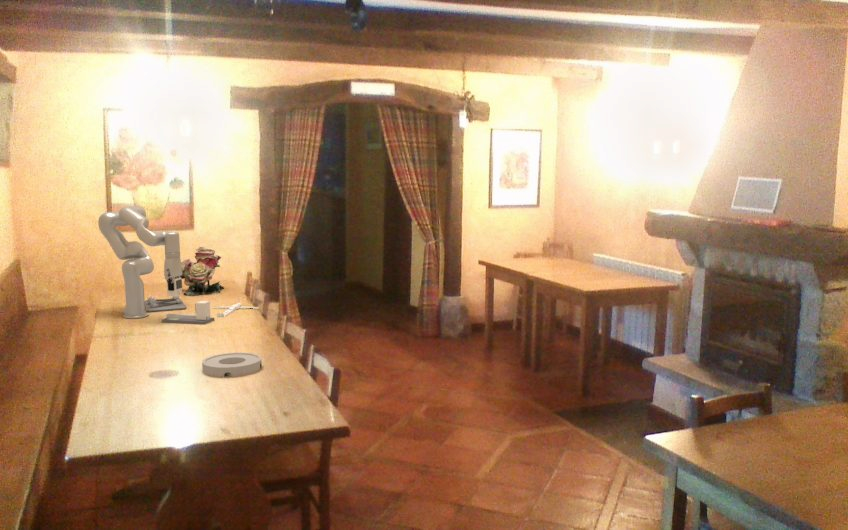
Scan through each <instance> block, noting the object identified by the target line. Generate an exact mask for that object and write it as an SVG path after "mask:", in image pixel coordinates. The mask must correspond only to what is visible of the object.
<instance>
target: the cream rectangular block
mask: <svg viewBox="0 0 848 530" xmlns="http://www.w3.org/2000/svg"><path fill="white" fill-rule="evenodd" d="M170 279H171V278H170ZM173 283H174V291H169V290H168V283H167V282H166V287H167V296H168V297H169V296H170V297H173V296H179V295H183V279H181V278H175V277H174V279H173Z"/></svg>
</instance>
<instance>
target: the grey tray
mask: <svg viewBox="0 0 848 530" xmlns="http://www.w3.org/2000/svg"><path fill="white" fill-rule="evenodd" d="M186 309H187V306H186V304H185V303H184V302H183V300H182V298H181V297H180V295H178V296H171V297H170V298H162V299H160V298H159V299H157V298H156V299H155V298H154V296H153V297H152V296H148V297H147V298H146V300H145V311H146V312H147V313H157V312H169V311H170V312H171V311H181V310H186Z"/></svg>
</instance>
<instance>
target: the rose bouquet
mask: <svg viewBox="0 0 848 530" xmlns="http://www.w3.org/2000/svg"><path fill="white" fill-rule="evenodd" d="M215 252H216V250H214V249H209V248H206V247H204V246H199V247H198V248H196V249H195V253H194V254H195V255H194V258H195V260H196V262H193V261H191V259H190V258H188V259H185V260H183V261H181V266H182V273H183V274H182V277H181V279H182V280H183V283H184V285H185V286H187V287H188V288H187V289H186V290H185V292H184V293H183V294H184V295H187V296H188V297H198V296H206V295H209V296H210V295H211V296H212V295H214V294H221V290H223V289H225V287H224V286H222V285H221V283H220V282H221V281H220V280H219V281H218V282H215V283H212V284H210V281H211V280H212V279H213V276H214V274H215V271H216V268H221V264H219V261H220V260H221V259H222V257H221V256H220V255H216V254H215ZM206 283H207V284H206Z"/></svg>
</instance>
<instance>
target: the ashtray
mask: <svg viewBox="0 0 848 530" xmlns="http://www.w3.org/2000/svg"><path fill="white" fill-rule="evenodd" d="M201 365H202V373H203V374H205V375H207V376H211V377H215V378H216V377H218V378H225V376H228V377H232V378H233V377H241V376H246V375H250V374H254V373H256V372H258V371H260V370H261V368H262V367H263V366H262V365H263V364H262V356H261V355H259V354H256V353H251V352H227V353H220V354H214V355H212V356H209V357H206V358H204V359H203V360H202V362H201Z"/></svg>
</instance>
